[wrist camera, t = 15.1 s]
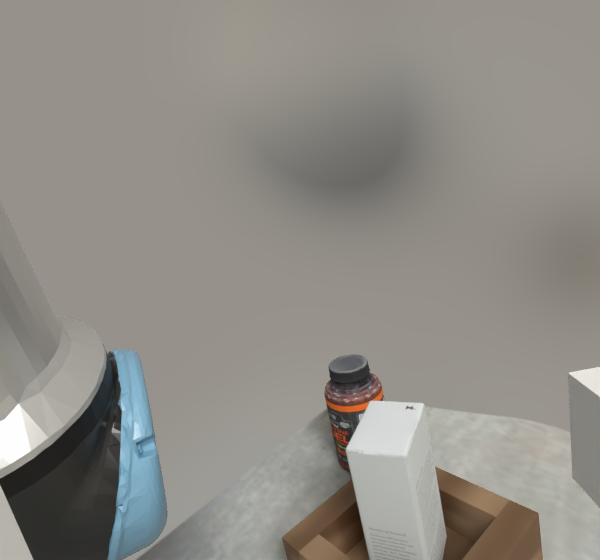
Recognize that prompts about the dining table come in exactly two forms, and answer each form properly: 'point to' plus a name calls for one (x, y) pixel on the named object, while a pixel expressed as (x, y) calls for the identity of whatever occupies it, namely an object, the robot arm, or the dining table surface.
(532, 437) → the dining table surface
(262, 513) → the dining table surface
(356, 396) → the supplement bottle
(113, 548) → the robot arm
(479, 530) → the walnut tray
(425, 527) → the skincare box
